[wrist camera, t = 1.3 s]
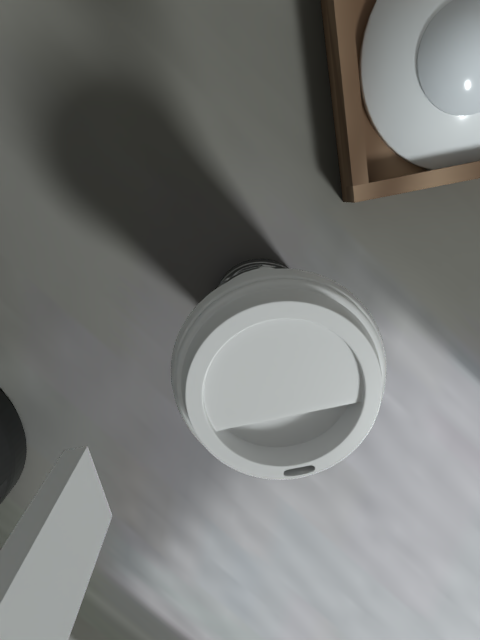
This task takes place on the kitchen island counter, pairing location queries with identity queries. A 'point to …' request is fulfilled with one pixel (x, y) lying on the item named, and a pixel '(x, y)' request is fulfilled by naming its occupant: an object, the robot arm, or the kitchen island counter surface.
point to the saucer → (424, 79)
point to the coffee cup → (279, 371)
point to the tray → (354, 125)
